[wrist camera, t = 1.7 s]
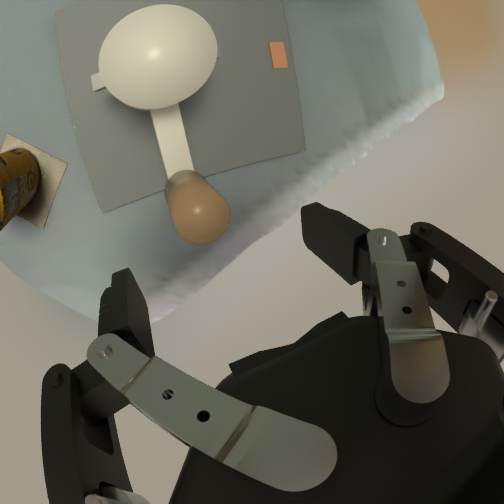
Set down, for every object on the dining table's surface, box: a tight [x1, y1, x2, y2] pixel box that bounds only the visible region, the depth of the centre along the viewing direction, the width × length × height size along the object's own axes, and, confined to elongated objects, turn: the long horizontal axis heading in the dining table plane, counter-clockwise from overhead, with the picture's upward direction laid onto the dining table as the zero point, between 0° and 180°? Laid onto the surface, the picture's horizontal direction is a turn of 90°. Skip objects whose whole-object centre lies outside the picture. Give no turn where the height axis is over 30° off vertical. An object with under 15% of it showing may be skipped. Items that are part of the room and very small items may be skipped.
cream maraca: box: [90, 4, 230, 245], centre depth 15 cm, size 15×9×8 cm, turn 10°
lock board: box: [55, 0, 306, 213], centre depth 18 cm, size 22×22×5 cm
